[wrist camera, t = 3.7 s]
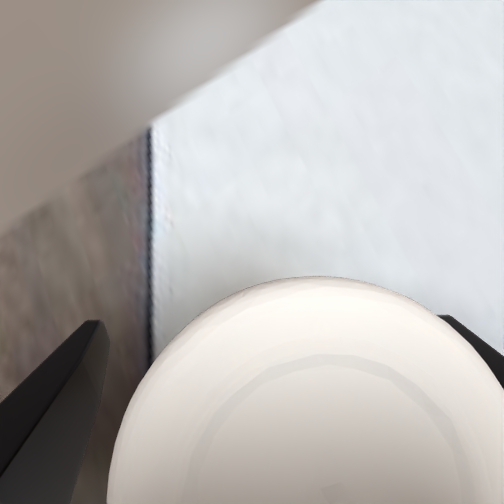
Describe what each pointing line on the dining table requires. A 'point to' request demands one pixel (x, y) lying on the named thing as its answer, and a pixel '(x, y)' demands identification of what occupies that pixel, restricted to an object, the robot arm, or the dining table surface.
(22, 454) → the robot arm
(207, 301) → the dining table surface
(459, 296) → the dining table surface
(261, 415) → the sprinkles bottle
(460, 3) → the dining table surface
